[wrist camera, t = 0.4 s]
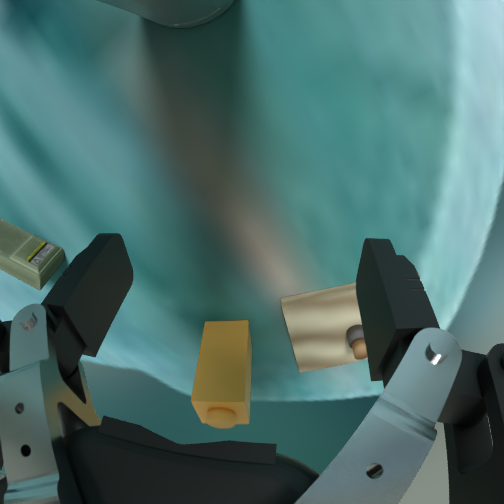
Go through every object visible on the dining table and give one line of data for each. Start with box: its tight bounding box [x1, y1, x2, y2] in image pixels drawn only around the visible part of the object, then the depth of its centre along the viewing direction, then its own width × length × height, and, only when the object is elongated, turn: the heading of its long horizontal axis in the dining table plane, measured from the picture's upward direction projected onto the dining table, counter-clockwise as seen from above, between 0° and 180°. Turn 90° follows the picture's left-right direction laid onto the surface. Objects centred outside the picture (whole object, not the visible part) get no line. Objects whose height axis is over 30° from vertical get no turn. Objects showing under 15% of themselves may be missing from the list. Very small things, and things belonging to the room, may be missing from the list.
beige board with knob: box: [281, 270, 420, 372], centre depth 36 cm, size 14×17×6 cm
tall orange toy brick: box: [191, 320, 252, 429], centre depth 35 cm, size 6×6×13 cm
